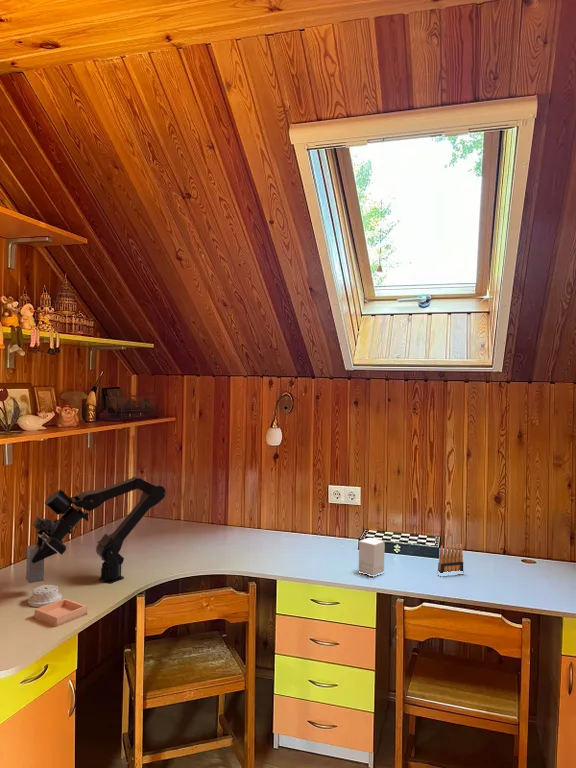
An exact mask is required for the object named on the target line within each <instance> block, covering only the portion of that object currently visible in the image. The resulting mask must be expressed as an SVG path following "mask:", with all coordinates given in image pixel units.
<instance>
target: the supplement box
mask: <svg viewBox="0 0 576 768" xmlns="http://www.w3.org/2000/svg"><path fill="white" fill-rule="evenodd" d="M385 548H386V547H385V540H384V541H383V540H382V539H381V540H380V539H377V538H373V537H367V538H365V539H361V540H359V541H358V572H359V571H360V572H363V573H367V574H370V575H376V574H378V573H381V572H383V571H384V572H385V550H386V549H385Z"/></svg>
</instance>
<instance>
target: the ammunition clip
mask: <svg viewBox="0 0 576 768" xmlns="http://www.w3.org/2000/svg"><path fill="white" fill-rule="evenodd" d="M463 556H464V554H463V545H462V543H460V544H458V543H456V545H455V544H454V543H453V544H452V546H451V544H448V546H447V544H445V545H444V547H443V544H442V545H440V549H439V557H438V558H439V559H438V560H439V562H438V564H437V572H438V571H439V572H440V573H443V572H447V571H448V572H451V571H459V570H460V571H463V572H464V561H463V560H464V559H463V558H464V557H463Z"/></svg>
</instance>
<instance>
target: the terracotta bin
mask: <svg viewBox="0 0 576 768" xmlns="http://www.w3.org/2000/svg"><path fill="white" fill-rule="evenodd" d="M86 615H88V605H85V604H83V603H79V602H77V601H73V600H71V599H68V598H63V599H62V600H59V601H56V602H54V603H51V604H48V605H45V606H43V607H36V608H34V619H37V620H39V621H41V620H42V621H41V622H44V623H46V622H47V624H49V623H50V624H49V625H51V624H52V625H51V626H54V625H55V627H56V626H57V627H59V625H60V626H62V625H65V624H67V623H70V622H71V621H74V620H76V619H79V618H82V617H85V616H86ZM69 621H70V622H69ZM64 623H65V624H64Z"/></svg>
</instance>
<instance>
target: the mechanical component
mask: <svg viewBox="0 0 576 768" xmlns="http://www.w3.org/2000/svg"><path fill="white" fill-rule="evenodd" d="M62 598H63V595H62V593H60V592H59V587H58V586H57V585H53V584H42V585H40V586H37V587H35V588H34V589H32V595H31V596H30V597H28V601H27V604H28V605H29V606H30V607H33V608H40V607H43V606H45V605H48V604H51V603H54V602H56V601H59V600H62Z"/></svg>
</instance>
